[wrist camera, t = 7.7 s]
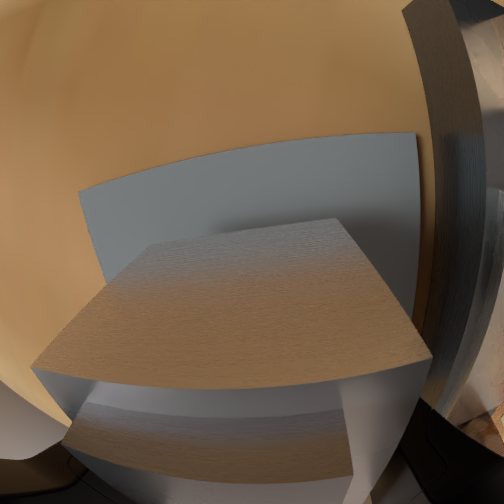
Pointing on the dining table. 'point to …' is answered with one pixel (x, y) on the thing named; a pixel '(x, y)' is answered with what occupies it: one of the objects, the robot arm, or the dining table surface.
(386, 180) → the rubber mat
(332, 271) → the grey metal block
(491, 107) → the hand plane
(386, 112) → the dining table surface
